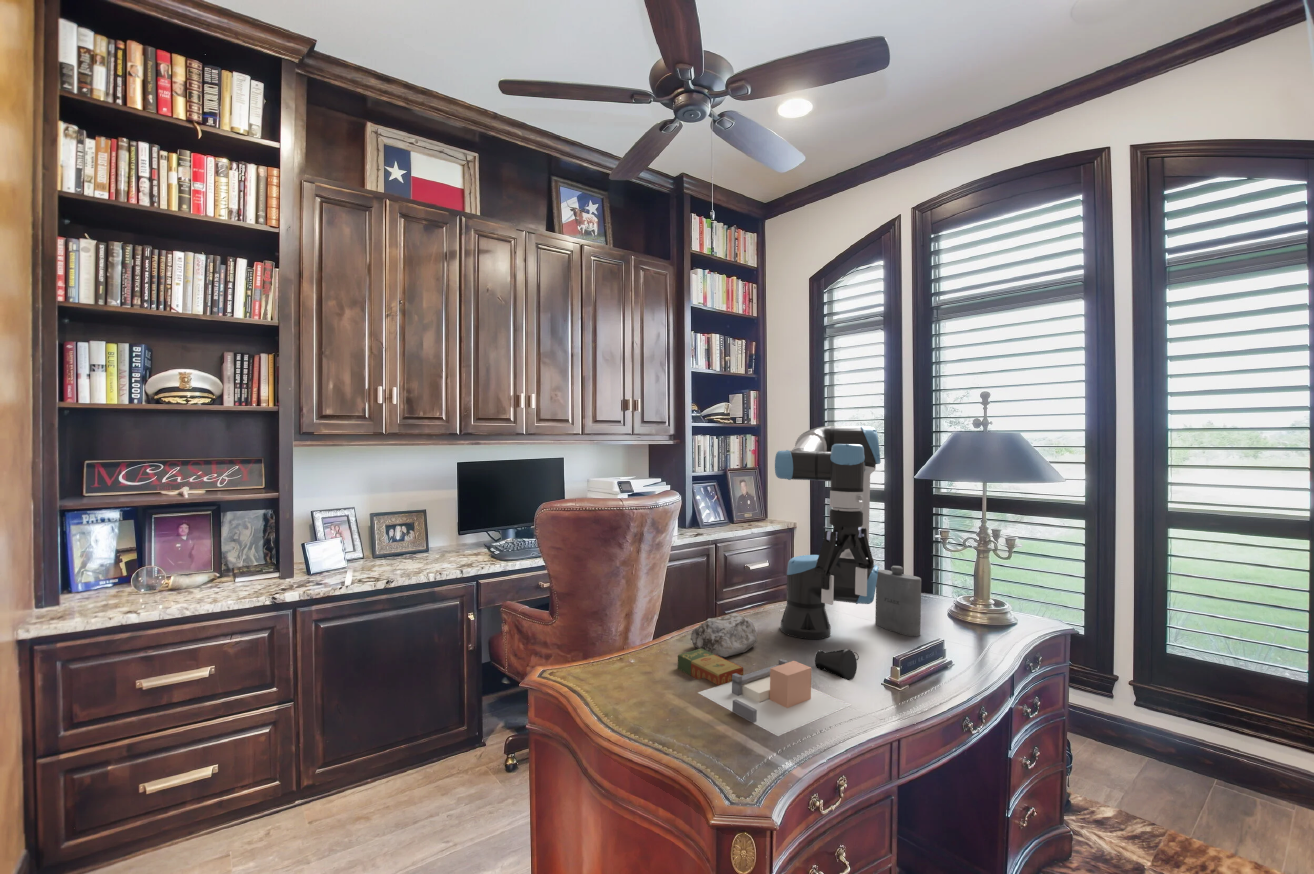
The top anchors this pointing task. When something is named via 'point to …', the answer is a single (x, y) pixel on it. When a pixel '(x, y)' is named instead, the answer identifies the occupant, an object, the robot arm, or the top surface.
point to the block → (790, 684)
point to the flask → (898, 601)
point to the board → (770, 702)
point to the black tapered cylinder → (837, 662)
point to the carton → (708, 666)
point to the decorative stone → (725, 635)
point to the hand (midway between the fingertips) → (844, 599)
